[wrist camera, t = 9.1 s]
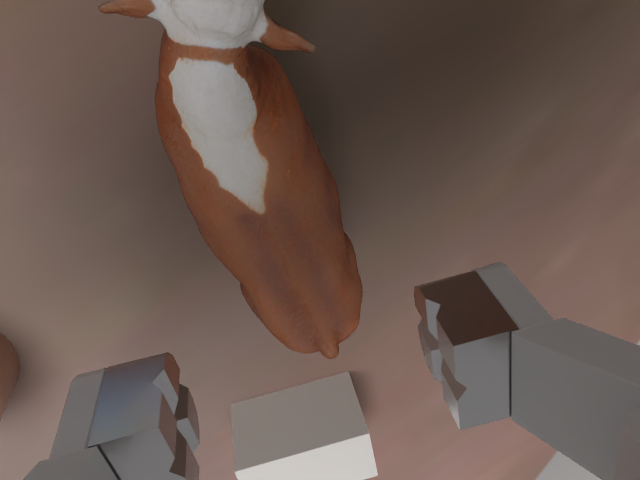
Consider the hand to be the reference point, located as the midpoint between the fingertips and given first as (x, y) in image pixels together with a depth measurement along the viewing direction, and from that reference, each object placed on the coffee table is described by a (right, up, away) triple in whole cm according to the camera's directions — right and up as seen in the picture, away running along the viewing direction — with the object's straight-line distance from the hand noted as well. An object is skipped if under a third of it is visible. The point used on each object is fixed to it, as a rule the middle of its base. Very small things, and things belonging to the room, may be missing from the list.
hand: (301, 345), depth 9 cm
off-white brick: (-1, -7, +19) cm, 20 cm away
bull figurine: (-2, +6, +11) cm, 13 cm away
